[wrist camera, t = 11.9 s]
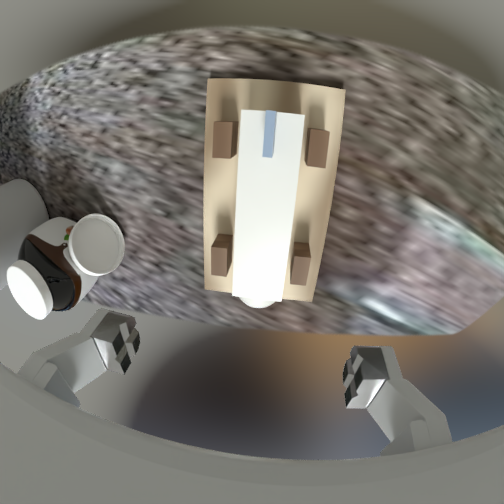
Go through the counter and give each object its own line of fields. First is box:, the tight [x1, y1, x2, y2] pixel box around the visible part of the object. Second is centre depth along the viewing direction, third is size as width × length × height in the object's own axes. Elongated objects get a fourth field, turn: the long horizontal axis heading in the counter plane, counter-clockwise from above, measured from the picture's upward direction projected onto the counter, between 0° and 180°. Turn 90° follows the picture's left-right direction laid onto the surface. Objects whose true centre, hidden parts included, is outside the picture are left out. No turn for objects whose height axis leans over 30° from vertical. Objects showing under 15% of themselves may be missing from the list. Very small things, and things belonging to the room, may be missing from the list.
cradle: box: [204, 78, 345, 302], centre depth 25 cm, size 12×22×4 cm, turn 176°
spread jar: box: [7, 214, 125, 319], centre depth 26 cm, size 12×11×12 cm
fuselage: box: [232, 110, 305, 308], centre depth 23 cm, size 4×18×8 cm, turn 176°
